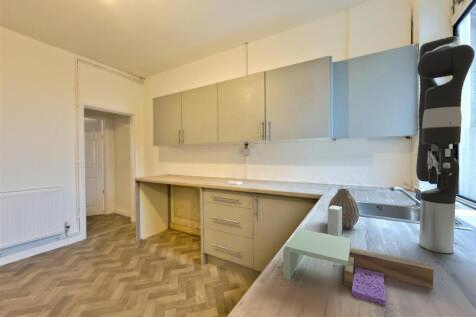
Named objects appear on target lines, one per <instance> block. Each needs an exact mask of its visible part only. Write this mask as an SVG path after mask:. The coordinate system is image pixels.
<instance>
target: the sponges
mask: <svg viewBox="0 0 476 317" xmlns="http://www.w3.org/2000/svg"><path fill="white" fill-rule="evenodd" d="M351 294H352V295H353V296H354V297H357V298H361V299H363V300H367V301H371V302H374V303H378V304H380V305H382V306H386V303H387V299H386V291H385V277H384V275H383V273H379V272H375V271H373V272H372V271H370V270H365V269H361V268H358V267H355V269H354V272H353V286H352V288H351Z"/></svg>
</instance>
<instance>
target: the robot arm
mask: <svg viewBox="0 0 476 317" xmlns="http://www.w3.org/2000/svg"><path fill="white" fill-rule="evenodd" d="M475 56H476V55H475V50H474V48H473V47H472V46H471V45H469V44H466V43H465V44H462V40H461V38H460V37H458V36H455V35H452V36H447V37H444V38H440V39H436V40H432V41H428V42H425V43H423V44H422V45H421V46H420V48H419V50H418V62H417V67H416V68H417V70H416V72H417V74H418V76H419V100H418V101H419V102H418V147H417V154H416V156H417V157H416V165H415V166H416V167H415V168H416V172H415V174H416V177H417V179H418V180H419V181H420V182H423V183H424V182H426V183H427V182H428V183H429V184H430V185H436V187H435V188H431V189H427V190H423V191H421V193H420V203H419V204H420V205H419V206H420V210H419V211H420V212H419V235H418V236H419V237H418V244H419V246H420V247H421V248H424V249H426V250H428V251H432V252H435V253H440V254H452V253H454V250H455V249H454V247H455V246H454V245H455V225H456V224H455V223H456V222H455V221H456V220H455V219H456V199H457V193H458V182H459V176H460V165H459V161H458V159H456V157H455V155H456V154H455V153H456V149H455V148H450V145H459V144H460V143H461V139H462V138H461V137H462V121H463V120H462V118H463V116H462V97H463V96H462V94H463V89H464V88H463V87H464V84H465V81H466V78H467V75H468V73H469V71H470V69H471V67H472V64H473V62H474V59H475ZM450 76H451V77H452V78H451V79H450V80H449V81H447V82H445V83H442V84H439V83H438V81H437V80H436V79H439V78H445V77H450Z"/></svg>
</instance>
